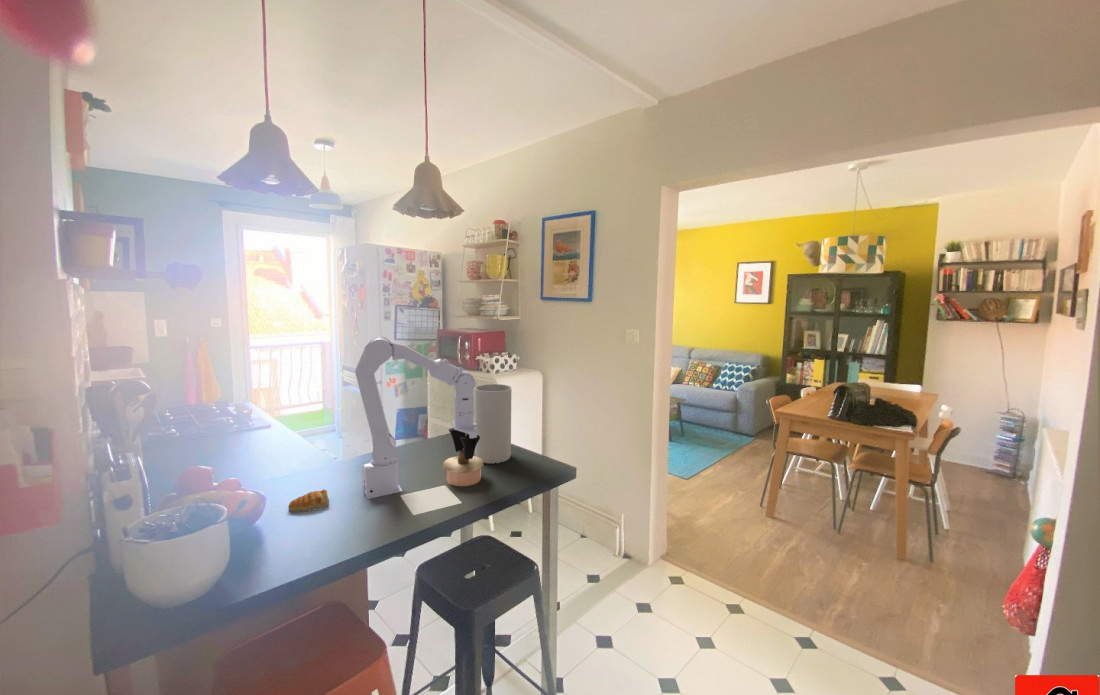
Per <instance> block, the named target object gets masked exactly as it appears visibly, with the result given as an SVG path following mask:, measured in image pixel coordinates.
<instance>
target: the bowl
mask: <svg viewBox="0 0 1100 695" xmlns="http://www.w3.org/2000/svg"><path fill="white" fill-rule="evenodd" d="M481 479H482V468H480V469H478V470H476V471H473V472H467V473H454V472H449V471H447V470H446V482H447V483H448V484H449V485H452V486H456V487H468V486H472V485H476V484H477V483H479V482H481Z"/></svg>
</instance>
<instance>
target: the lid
mask: <svg viewBox="0 0 1100 695" xmlns="http://www.w3.org/2000/svg"><path fill="white" fill-rule="evenodd" d="M442 467H443V470H445V471H446V472H447V471H449V472H454V473H467V472H473V471H476V470H478V469H480V468H481V469H482V468H483V467H484V463H483V460H482V459H481V458H479V457H476V456H475V455H473V458H472V459H468V460H466V459H465V456H464V449H463V450H459V451H458V452H457V456H452V457H449V458H447V459H446V460H443V464H442Z"/></svg>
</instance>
